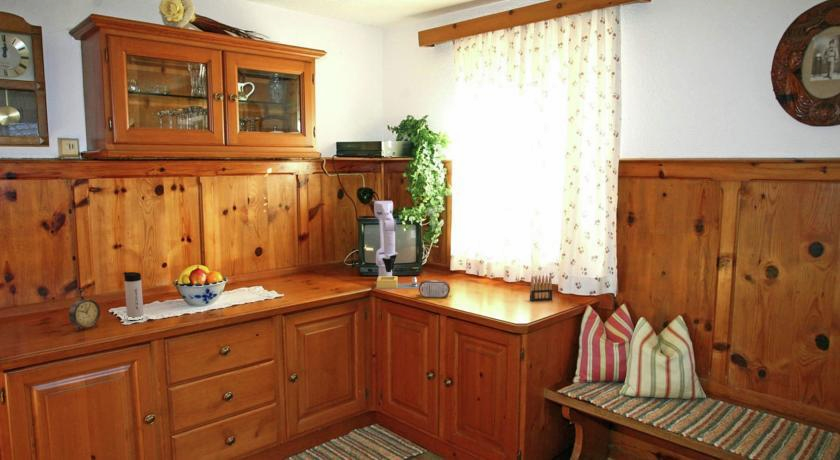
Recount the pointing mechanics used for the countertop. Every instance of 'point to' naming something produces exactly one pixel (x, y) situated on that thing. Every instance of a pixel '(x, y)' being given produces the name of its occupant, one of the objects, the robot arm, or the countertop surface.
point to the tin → (434, 288)
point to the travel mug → (133, 294)
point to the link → (387, 281)
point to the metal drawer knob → (414, 282)
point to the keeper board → (402, 286)
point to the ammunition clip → (541, 289)
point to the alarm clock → (84, 312)
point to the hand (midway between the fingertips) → (389, 270)
